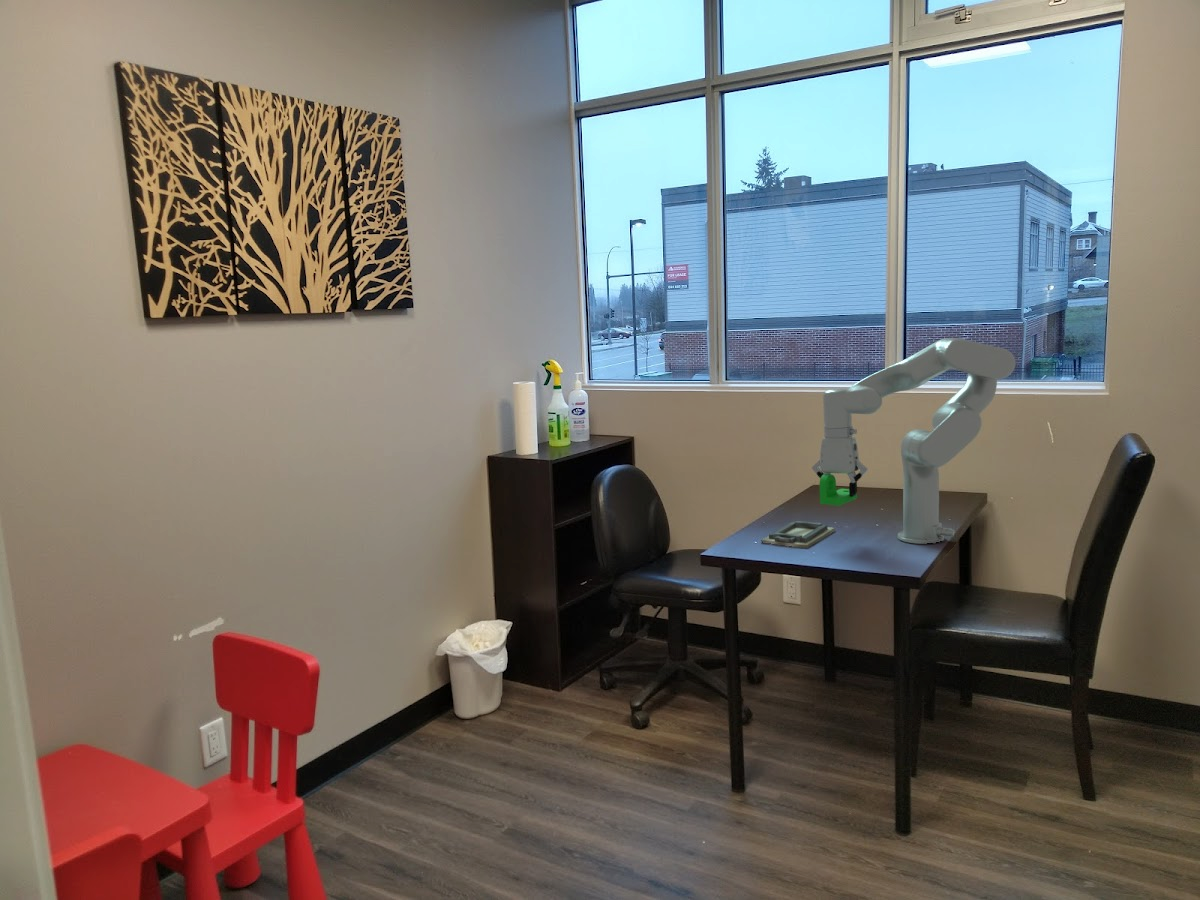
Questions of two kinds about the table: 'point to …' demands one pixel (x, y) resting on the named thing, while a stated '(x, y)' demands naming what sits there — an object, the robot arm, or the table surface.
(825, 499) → the mechanical part
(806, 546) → the board
